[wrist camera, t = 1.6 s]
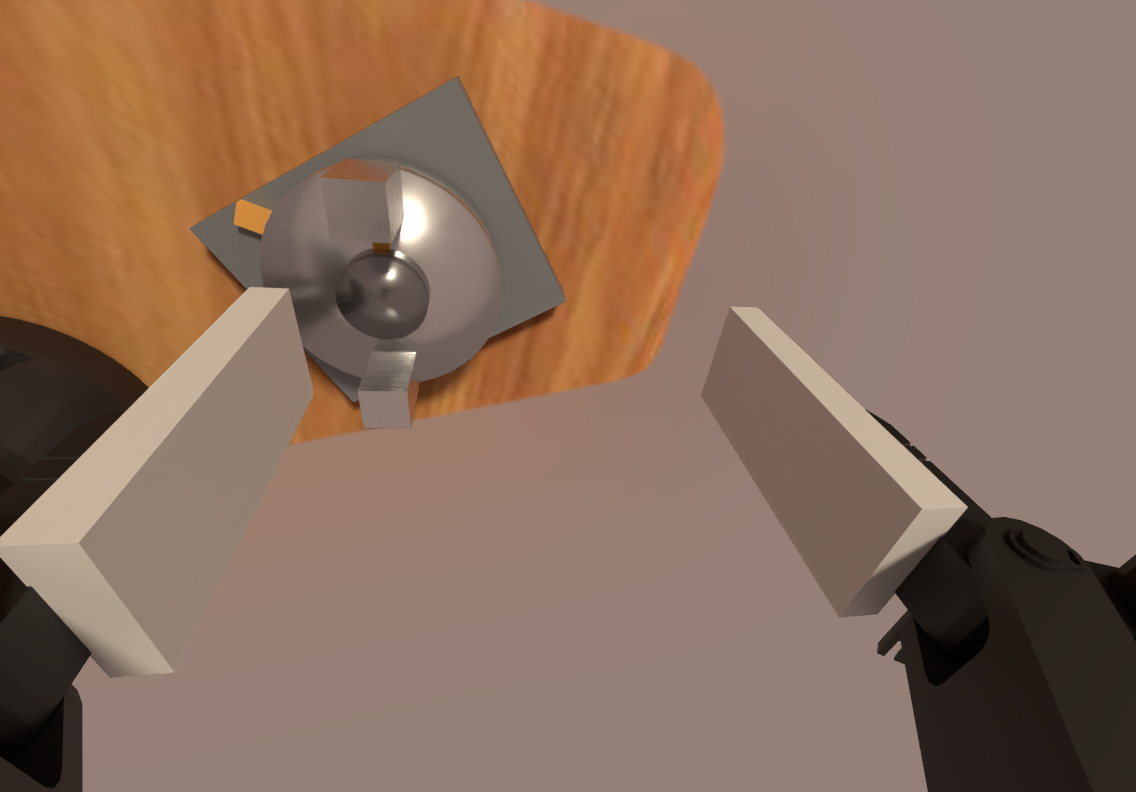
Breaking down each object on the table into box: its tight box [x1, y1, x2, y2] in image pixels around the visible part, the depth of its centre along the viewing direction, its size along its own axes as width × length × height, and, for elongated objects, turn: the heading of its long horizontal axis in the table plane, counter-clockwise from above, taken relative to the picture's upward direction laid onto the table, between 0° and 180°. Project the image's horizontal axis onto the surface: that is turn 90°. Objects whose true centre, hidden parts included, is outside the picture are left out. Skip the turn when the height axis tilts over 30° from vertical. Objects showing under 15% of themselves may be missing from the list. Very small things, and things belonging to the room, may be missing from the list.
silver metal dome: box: [260, 155, 502, 428], centre depth 25 cm, size 12×12×7 cm
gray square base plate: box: [189, 76, 566, 402], centre depth 28 cm, size 16×13×3 cm
